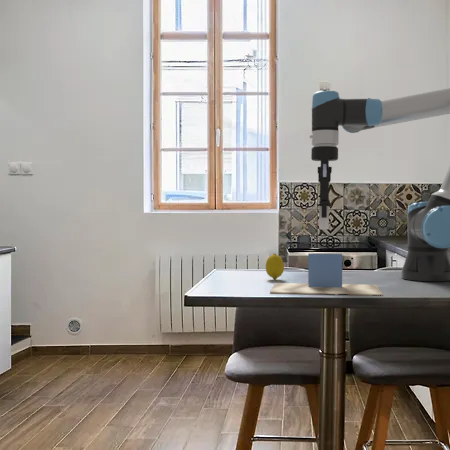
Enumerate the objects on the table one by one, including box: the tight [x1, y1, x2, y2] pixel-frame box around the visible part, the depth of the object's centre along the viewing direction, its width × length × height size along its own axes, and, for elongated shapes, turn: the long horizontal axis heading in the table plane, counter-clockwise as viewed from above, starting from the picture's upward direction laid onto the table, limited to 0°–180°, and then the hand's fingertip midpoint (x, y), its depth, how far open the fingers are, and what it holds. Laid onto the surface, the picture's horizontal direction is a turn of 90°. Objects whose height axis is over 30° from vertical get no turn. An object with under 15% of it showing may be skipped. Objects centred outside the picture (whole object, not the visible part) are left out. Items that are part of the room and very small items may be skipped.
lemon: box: [265, 253, 285, 280], centre depth 179 cm, size 6×6×8 cm
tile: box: [307, 252, 343, 287], centre depth 159 cm, size 9×2×9 cm, turn 81°
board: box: [269, 282, 384, 297], centre depth 157 cm, size 28×18×1 cm, turn 81°
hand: (323, 229), depth 168 cm, fingers closed
